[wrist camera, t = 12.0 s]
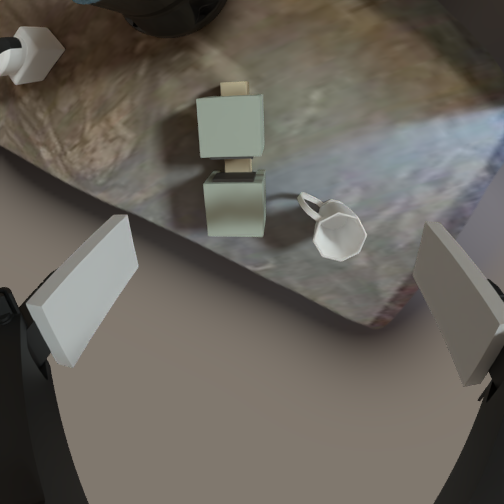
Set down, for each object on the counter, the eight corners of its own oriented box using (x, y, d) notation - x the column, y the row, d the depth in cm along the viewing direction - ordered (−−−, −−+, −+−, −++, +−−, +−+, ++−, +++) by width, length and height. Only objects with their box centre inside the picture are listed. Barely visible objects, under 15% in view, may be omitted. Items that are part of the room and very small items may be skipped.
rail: (211, 83, 38) (195, 84, 31) (263, 81, 37) (259, 80, 30) (219, 211, 48) (208, 236, 41) (266, 212, 47) (262, 237, 40)
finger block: (208, 96, 37) (196, 98, 32) (262, 94, 37) (259, 95, 31) (211, 150, 41) (200, 161, 36) (264, 149, 40) (261, 159, 35)
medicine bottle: (25, 58, 36) (-24, 64, 25) (47, 26, 33) (-3, 25, 23) (43, 81, 38) (-7, 91, 28) (66, 49, 35) (15, 50, 25)
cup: (334, 242, 48) (341, 271, 41) (283, 204, 46) (282, 229, 39) (364, 209, 45) (377, 234, 38) (313, 168, 43) (318, 186, 36)
